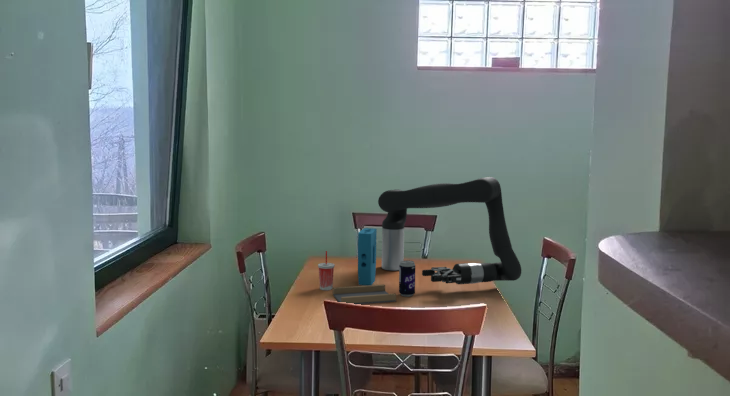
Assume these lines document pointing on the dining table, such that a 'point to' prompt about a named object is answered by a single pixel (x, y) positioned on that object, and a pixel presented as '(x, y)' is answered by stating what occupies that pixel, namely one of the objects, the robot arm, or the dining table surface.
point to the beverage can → (407, 278)
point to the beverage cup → (326, 275)
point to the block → (366, 256)
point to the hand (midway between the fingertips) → (426, 275)
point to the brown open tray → (363, 294)
